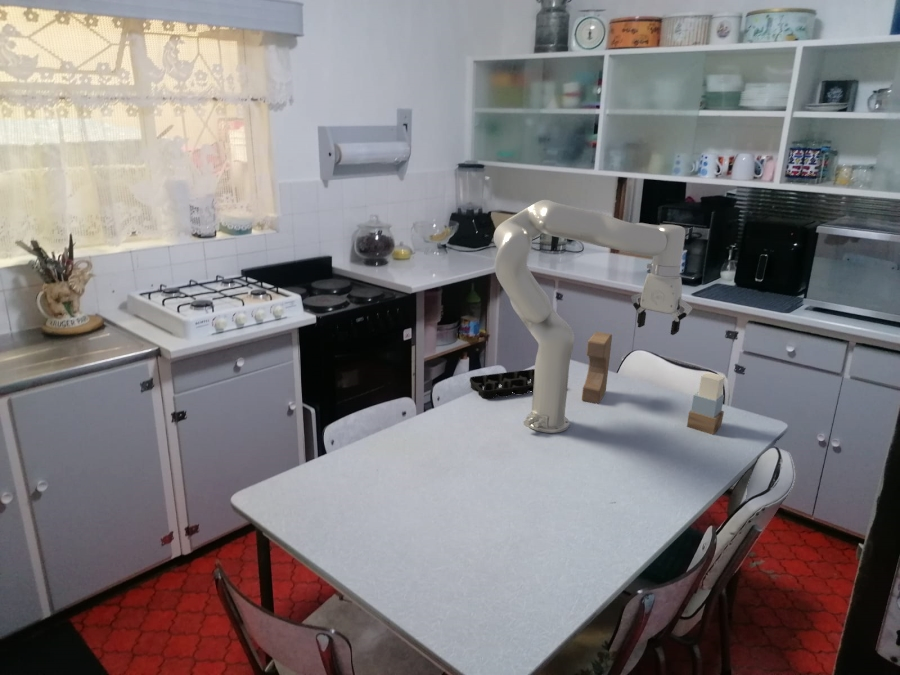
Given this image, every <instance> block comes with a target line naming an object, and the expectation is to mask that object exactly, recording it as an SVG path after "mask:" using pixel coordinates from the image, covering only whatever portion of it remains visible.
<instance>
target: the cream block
mask: <svg viewBox="0 0 900 675" xmlns="http://www.w3.org/2000/svg"><path fill="white" fill-rule="evenodd" d="M725 380H726V375H721V374H717V373H713V372H709V371H706V372H705V373H704V374H703V375H701V378H700V383H699V388H698V392H699V394H698V396H701V397H704V398H708V399H712V400H715V401H716V400H717V399H718V398H719V397H721V396H722V395H723V391H724V384H725Z"/></svg>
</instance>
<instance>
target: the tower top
mask: <svg viewBox="0 0 900 675" xmlns="http://www.w3.org/2000/svg"><path fill="white" fill-rule="evenodd" d="M698 394H699V391H698V392H696V393H695V394H694V395H693V398H692V405H691V410H690V411H692V412H695V413H699V414H702V415H706V416H709V417H712V418H714V417H715V416H716V415H718V414H719V413H720V412H721V411H723V410H722V409H723V403H724V399H725V398H724V397H725V394H722V396H721V397H719V398H718V399H717V400H716V401H715V400H712V399H708V398H704V397H701V396H698Z"/></svg>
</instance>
